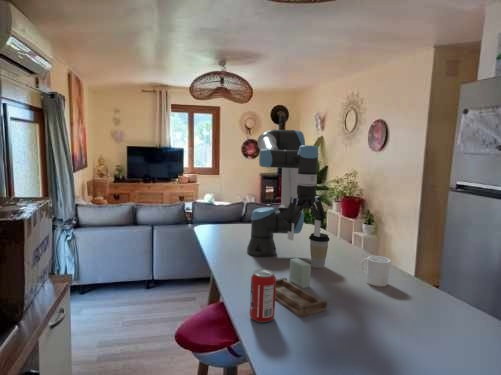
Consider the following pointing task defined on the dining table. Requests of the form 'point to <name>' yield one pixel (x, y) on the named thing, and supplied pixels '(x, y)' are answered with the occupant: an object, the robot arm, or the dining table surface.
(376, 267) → the mug
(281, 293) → the wooden tray
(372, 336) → the dining table surface
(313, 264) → the coffee cup
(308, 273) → the pale green block
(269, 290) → the soda can
